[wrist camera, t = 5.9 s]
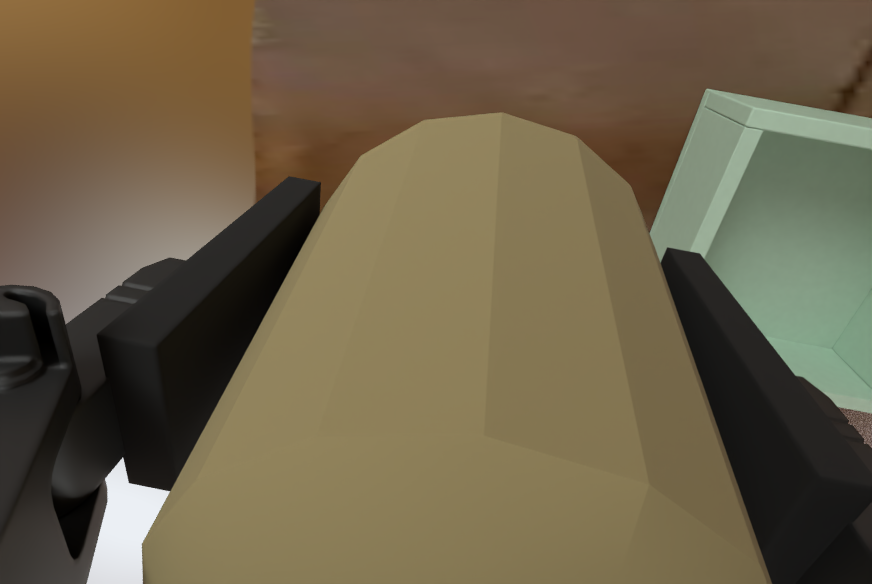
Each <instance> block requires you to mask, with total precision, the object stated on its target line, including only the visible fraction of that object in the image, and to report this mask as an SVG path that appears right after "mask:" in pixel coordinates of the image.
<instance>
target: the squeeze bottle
mask: <svg viewBox="0 0 872 584" xmlns="http://www.w3.org/2000/svg"><path fill="white" fill-rule="evenodd" d="M142 559H143V561H142V564H143V584H772V582H771V579H770V576H769V573H768V571H767V568H766V565H765V562H764V559H763V556H762V553H761V551H760V548H759V545H758V542H757V539H756V536H755V533H754V530H753V528H752V525H751V522H750V519H749V516H748V513H747V510H746V507H745V505H744V502H743V499H742V496H741V493H740V490H739V487H738V484H737V482H736V479H735V476H734V473H733V470H732V467H731V464H730V462H729V459H728V456H727V453H726V450H725V447H724V444H723V441H722V439H721V436H720V433H719V430H718V427H717V424H716V421H715V418H714V416H713V413H712V410H711V407H710V404H709V401H708V398H707V395H706V393H705V390H704V387H703V384H702V381H701V378H700V375H699V373H698V370H697V367H696V364H695V361H694V358H693V355H692V352H691V350H690V347H689V344H688V341H687V338H686V335H685V332H684V329H683V327H682V324H681V321H680V318H679V315H678V312H677V309H676V306H675V304H674V301H673V298H672V295H671V292H670V289H669V286H668V284H667V281H666V278H665V275H664V272H663V269H662V266H661V263H660V261H659V258H658V255H657V252H656V249H655V246H654V244H653V241H652V239H651V236H650V234H649V231H648V229H647V226H646V223H645V221H644V218H643V216H642V213H641V211H640V208H639V206H638V203H637V200H636V198H635V195H634V193H633V190H632V188H631V186H630V185H629V184H628V183H627V182H626V181H625V180H624V179H623V178H622V177H621V176H619V175H618V174H617V173H616V172H615V171H614V170H613V169H612V168H611V167H610V166H608V165H607V164H606V163H605V162H604V161H603V160H602V159H601V158H600V157H599V156H597V155H596V154H595V153H594V152H593V151H592V150H591V149H590V148H589V147H588V146H586V145H585V144H584V143H583V142H582V141H581V140H580V139H579V138H578V137H577V136H574V135H571V134H568V133H564V132H561V131H558V130H555V129H552V128H549V127H546V126H543V125H540V124H536V123H533V122H530V121H527V120H524V119H521V118H518V117H515V116H512V115H508V114H505V113H502V112H501V113H491V114H481V115H470V116H460V117H450V118H440V119H430V120H423V121H422V122H420V123H418V124H416V125H415V126H413V127H411V128H409V129H407V130H406V131H404V132H402V133H400V134H399V135H397V136H395V137H393V138H391V139H390V140H388V141H386V142H384V143H383V144H381V145H379V146H377V147H375V148H374V149H372V150H370V151H368V152H367V153H365V154H363V155H361V156H360V158H359V159H358V160H357V162H356V163H355V165H354V166H353V167H352V169H351V170H350V172H349V173H348V174H347V176H346V177H345V179H344V180H343V181H342V183H341V184H340V185H339V187H338V188H337V190H336V191H335V192H334V194H333V195H332V197H331V198H330V199H329V201H328V202H327V204H326V205H325V206H324V208H323V209H322V211H321V213H320V215H319V217H318V219H317V220H316V222H315V224H314V226H313V228H312V230H311V232H310V233H309V235H308V237H307V239H306V241H305V243H304V245H303V246H302V248H301V250H300V252H299V254H298V256H297V257H296V259H295V261H294V263H293V265H292V267H291V269H290V270H289V272H288V274H287V276H286V278H285V280H284V282H283V283H282V285H281V287H280V289H279V291H278V293H277V295H276V296H275V298H274V300H273V302H272V304H271V306H270V308H269V309H268V311H267V313H266V315H265V317H264V319H263V321H262V322H261V324H260V326H259V328H258V330H257V332H256V334H255V335H254V337H253V339H252V341H251V343H250V345H249V347H248V348H247V350H246V352H245V354H244V356H243V358H242V360H241V361H240V363H239V365H238V367H237V369H236V371H235V373H234V374H233V376H232V378H231V380H230V382H229V384H228V385H227V387H226V389H225V391H224V393H223V395H222V397H221V398H220V400H219V402H218V404H217V406H216V408H215V410H214V411H213V413H212V415H211V417H210V419H209V421H208V423H207V424H206V426H205V428H204V430H203V432H202V434H201V436H200V437H199V439H198V441H197V443H196V445H195V447H194V449H193V450H192V452H191V454H190V456H189V458H188V460H187V462H186V463H185V465H184V467H183V469H182V471H181V473H180V475H179V476H178V478H177V480H176V482H175V484H174V486H173V488H172V489H171V491H170V493H169V495H168V497H167V499H166V501H165V502H164V504H163V506H162V508H161V510H160V512H159V514H158V516H157V517H156V519H155V521H154V523H153V525H152V527H151V528H150V530H149V532H148V534H147V536H146V538H145V540H144V541H143V543H142Z"/></svg>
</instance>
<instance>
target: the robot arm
mask: <svg viewBox="0 0 872 584" xmlns="http://www.w3.org/2000/svg"><path fill="white" fill-rule="evenodd" d="M320 189H321V182H316V181H311V180H305V179H300V178H295V177H288V178H286V179H285V180H284V181H283V182H282V183H280V184H279V185H278V186H277V187H275V188H274V189H273V190H272V191H271V192H269V193H268V194H267V195H266V196H264V197H263V198H262V199H261V200H260V201H258V202H257V203H256V204H255V205H253V206H252V207H251V208H250V209H249V210H247V211H246V212H245V213H244V214H243V215H241V216H240V217H239V218H238V219H236V220H235V221H234V222H233V223H232V224H230V225H229V226H228V227H227V228H226V229H224V230H223V231H222V232H221V233H219V234H218V235H217V236H216V237H215V238H213V239H212V240H211V241H210V242H208V243H207V244H206V245H205V246H204V247H202V248H201V249H200V250H199V251H197V252H196V253H195V254H194V255H193V256H192V257H190V258H189V259H188V260H186V261H185V260H179V259H174V258H168V259H165V260H162V261H159V262H157V263H154V264H152V265H149V266H146V267H143V268H142V269H140V270H139V271H137V272H136V273H135V274H133V275H132V276H131V277H130V278H128V279H127V280H125V281H124V282H123V284H122V286H117V287H116V288H115V289H113V290H112V291H110V292H109V293H108V294H106V298H105V299H104V298H101V299H100V300H98V301H97V302H96V303H94V304H93V305H92V306H90V307H89V308H87V309H86V310H85V311H83V312H82V313H81V314H79V315H78V316H77V317H75V318H74V319H73V320H71V321H70V322H69V323H67V324H66V325H65V321H64V317H63V313H62V309H61V305H60V301H59V300H58V299H57V298H56V297H55V296H54V295H53V294H52V293H51V292H49V291H46V290H43V289H40V288H37V287H34V286H19V285H5V286H0V584H86V583H87V579H88V575H89V572H90V568H91V564H92V560H93V556H94V552H95V548H96V544H97V540H98V536H99V532H100V528H101V524H102V520H103V517H104V512H105V509H106V505H107V486H106V482H105V478H106V477H107V475H108V474H109V473H110V472H111V471H112V469H113V468H114V467H115V466H116V465H117V463H118V462H119V461H120V460H121V459H122V457H123V458H124V462H125V467H126V471H127V476H128V481H129V483H132V484H137V485H142V486H146V487H151V488H157V489H162V490H166V491H171V489H172V488H173V486H174V484H175V482H176V480H177V478H178V476H179V475H180V473H181V471H182V469H183V467H184V465H185V463H186V462H187V460H188V458H189V456H190V454H191V452H192V450H193V449H194V447H195V445H196V443H197V441H198V439H199V437H200V436H201V434H202V432H203V430H204V428H205V426H206V424H207V423H208V421H209V419H210V417H211V415H212V413H213V411H214V410H215V408H216V406H217V404H218V402H219V400H220V398H221V397H222V395H223V393H224V391H225V389H226V387H227V385H228V384H229V382H230V380H231V378H232V376H233V374H234V373H235V371H236V369H237V367H238V365H239V363H240V361H241V360H242V358H243V356H244V354H245V352H246V350H247V348H248V347H249V345H250V343H251V341H252V339H253V337H254V335H255V334H256V332H257V330H258V328H259V326H260V324H261V322H262V321H263V319H264V317H265V315H266V313H267V311H268V309H269V308H270V306H271V304H272V302H273V300H274V298H275V296H276V295H277V293H278V291H279V289H280V287H281V285H282V283H283V282H284V280H285V278H286V276H287V274H288V272H289V270H290V269H291V267H292V265H293V263H294V261H295V259H296V257H297V256H298V254H299V252H300V250H301V248H302V246H303V245H304V243H305V241H306V239H307V237H308V235H309V233H310V232H311V230H312V228H313V226H314V224H315V222H316V220H317V219H318V217H319V213H320ZM661 266H662V269H663V272H664V275H665V278H666V281H667V284H668V286H669V289H670V292H671V295H672V298H673V301H674V304H675V306H676V309H677V312H678V315H679V318H680V321H681V324H682V327H683V329H684V332H685V335H686V338H687V341H688V344H689V347H690V350H691V352H692V355H693V358H694V361H695V364H696V367H697V370H698V373H699V375H700V378H701V381H702V384H703V387H704V390H705V393H706V395H707V398H708V401H709V404H710V407H711V410H712V413H713V416H714V418H715V421H716V424H717V427H718V430H719V433H720V436H721V439H722V441H723V444H724V447H725V450H726V453H727V456H728V459H729V462H730V464H731V467H732V470H733V473H734V476H735V479H736V482H737V484H738V487H739V490H740V493H741V496H742V499H743V502H744V505H745V507H746V510H747V513H748V516H749V519H750V522H751V525H752V528H753V530H754V533H755V536H756V539H757V542H758V545H759V548H760V551H761V553H762V556H763V559H764V562H765V565H766V568H767V571H768V573H769V576H770V579H771V582H772V584H872V448H871V447H870V446H869V445H868V444H864V439H863V437H862V436H861V435H860V434H859V433H858V431H857V430H856V429H855V428H854V426H853V425H849V424H848V421H849V420H848V419H847V418H846V417H845V416H844V414H843V413H842V412H841V411H840V410H839V408H838V407H837V406H836V405H835V403H834V402H833V401H832V400H831V399H830V398H829V397H828V396H827V395H825V394H824V393H823V392H822V391H820V390H819V389H818V388H817V387H815V386H814V385H813V384H811V383H810V382H809V381H808V380H806V379H805V378H804V377H801V376H795V374H794V373H793V372H792V370H791V369H790V368H789V367H788V365H787V364H786V363H785V362H784V360H783V359H782V358H781V356H780V355H779V354H778V353H777V351H776V350H775V349H774V347H773V346H772V345H771V344H770V342H769V341H768V340H767V339H766V337H765V336H764V335H763V333H762V332H761V331H760V330H759V328H758V327H757V326H756V324H755V323H754V322H753V321H752V319H751V318H750V317H749V316H748V314H747V313H746V312H745V310H744V309H743V308H742V307H741V305H740V304H739V303H738V301H737V300H736V299H735V298H734V296H733V295H732V294H731V293H730V291H729V290H728V289H727V287H726V286H725V285H724V284H723V282H722V281H721V280H720V278H719V277H718V276H717V275H716V273H715V272H714V271H713V270H712V268H711V267H710V266H709V264H708V263H707V262H706V261H705V259H704V258H703V257H702V255H701V254H700V253H695V252H690V251H684V250H679V249H674V248H668V247H667V249H666V251H665V253H664V256H663V258H662V260H661Z"/></svg>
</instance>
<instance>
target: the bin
mask: <svg viewBox="0 0 872 584" xmlns="http://www.w3.org/2000/svg"><path fill="white" fill-rule="evenodd" d="M649 234H650V236H651V239H652V241H653V244H654V246H655V249H656V252H657V255H658V258H659V261H660V263H661V260H662V258H663V256H664V253H665V251H666V249H667V247H668V248H674V249H679V250H684V251H690V252H695V253H700V254H701V255H702V257H703V258H704V259H705V261H706V262H707V263H708V264H709V266H710V267H711V268H712V270H713V271H714V272H715V273H716V275H717V276H718V277H719V278H720V280H721V281H722V282H723V284H724V285H725V286H726V287H727V289H728V290H729V291H730V293H731V294H732V295H733V296H734V298H735V299H736V300H737V301H738V303H739V304H740V305H741V307H742V308H743V309H744V310H745V312H746V313H747V314H748V316H749V317H750V318H751V319H752V321H753V322H754V323H755V324H756V326H757V327H758V328H759V330H760V331H761V332H762V333H763V335H764V336H765V337H766V339H767V340H768V341H769V342H770V344H771V345H772V346H773V347H774V349H775V350H776V351H777V353H778V354H779V355H780V356H781V358H782V359H783V360H784V362H785V363H786V364H787V365H788V367H789V368H790V369H791V370H792V372H793V373H794V374H795V376H801V377H804V378H805V379H806V380H808V381H809V382H810V383H811V384H813V385H814V386H815V387H817V388H818V389H819V390H820V391H822V392H823V393H824V394H825V395H827V396H828V397H829V398H830V399H831V400H832V401H833V402H834V403H835V405H836V406H837V407H840V408H846V409H851V410H856V411H861V412H866V413H872V118H867V117H861V116H856V115H850V114H845V113H839V112H834V111H828V110H823V109H817V108H811V107H806V106H800V105H795V104H789V103H784V102H778V101H773V100H767V99H762V98H756V97H751V96H745V95H739V94H734V93H728V92H723V91H717V90H712V89H706V91H705V93H704V96H703V98H702V101H701V103H700V106H699V108H698V111H697V113H696V116H695V119H694V121H693V124H692V126H691V129H690V131H689V134H688V136H687V139H686V142H685V144H684V147H683V149H682V152H681V154H680V157H679V159H678V162H677V165H676V167H675V170H674V172H673V175H672V177H671V180H670V182H669V185H668V188H667V190H666V193H665V195H664V198H663V200H662V203H661V205H660V208H659V211H658V213H657V216H656V218H655V221H654V223H653V226H652V228H651V231H650V233H649Z"/></svg>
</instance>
